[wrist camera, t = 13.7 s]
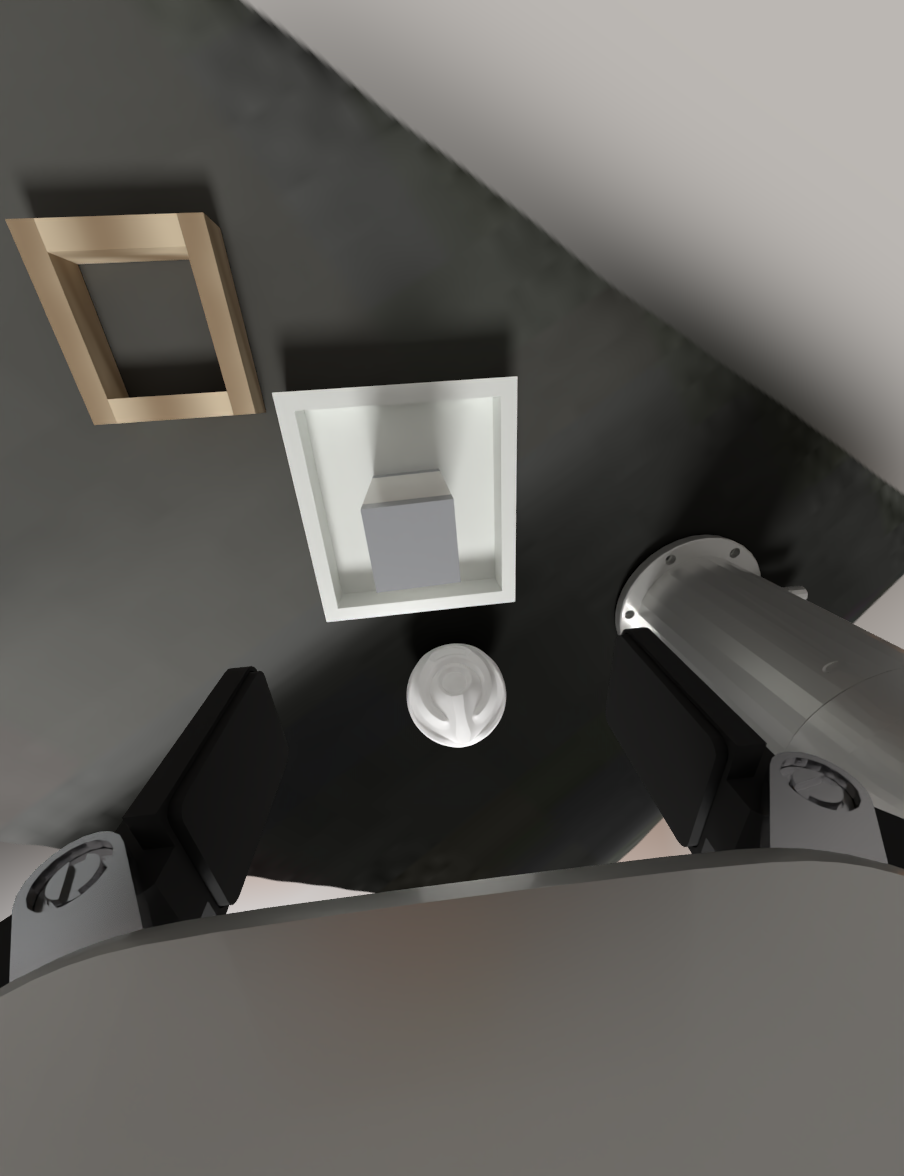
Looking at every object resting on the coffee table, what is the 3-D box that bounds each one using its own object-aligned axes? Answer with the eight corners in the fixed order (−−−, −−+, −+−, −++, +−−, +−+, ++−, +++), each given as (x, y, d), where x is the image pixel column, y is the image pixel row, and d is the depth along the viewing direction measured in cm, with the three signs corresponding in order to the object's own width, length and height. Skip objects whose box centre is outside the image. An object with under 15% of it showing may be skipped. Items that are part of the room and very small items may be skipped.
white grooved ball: (491, 621, 34) (513, 679, 27) (497, 689, 37) (519, 756, 30) (399, 637, 33) (398, 700, 26) (414, 704, 37) (416, 775, 30)
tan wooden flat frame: (220, 228, 21) (203, 212, 19) (266, 412, 25) (255, 413, 23) (40, 234, 20) (4, 218, 18) (117, 422, 24) (94, 424, 22)
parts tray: (505, 378, 26) (517, 376, 23) (505, 584, 32) (515, 601, 30) (286, 393, 25) (272, 392, 22) (333, 602, 31) (326, 622, 29)
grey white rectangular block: (438, 468, 27) (453, 499, 19) (444, 530, 29) (460, 582, 21) (373, 475, 27) (360, 509, 19) (384, 538, 29) (376, 592, 21)
